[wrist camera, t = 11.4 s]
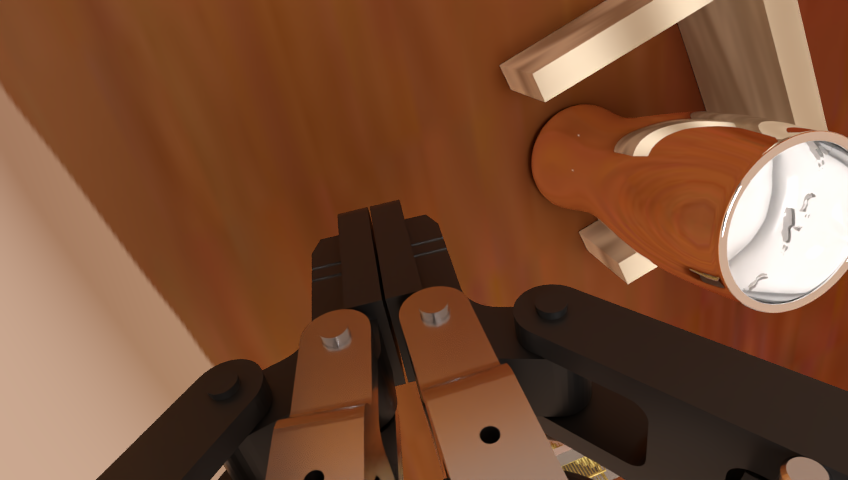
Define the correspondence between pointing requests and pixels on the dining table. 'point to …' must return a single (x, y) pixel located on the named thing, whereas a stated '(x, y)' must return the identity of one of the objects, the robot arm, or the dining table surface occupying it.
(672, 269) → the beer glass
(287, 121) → the dining table surface
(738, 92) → the bracket
